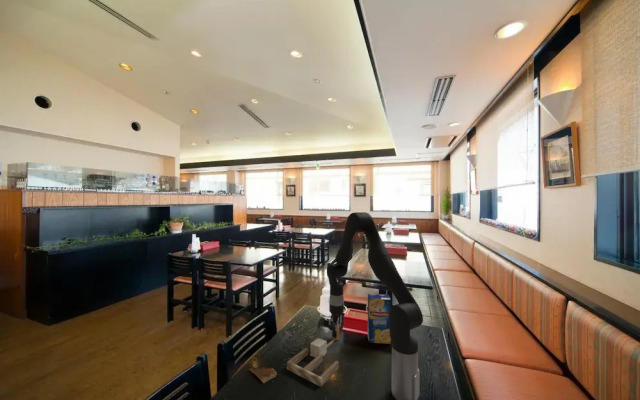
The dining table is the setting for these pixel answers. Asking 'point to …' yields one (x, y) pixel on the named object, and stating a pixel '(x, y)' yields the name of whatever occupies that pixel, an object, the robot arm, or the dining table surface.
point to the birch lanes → (311, 368)
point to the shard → (264, 373)
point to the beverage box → (379, 318)
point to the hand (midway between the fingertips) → (336, 335)
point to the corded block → (321, 345)
